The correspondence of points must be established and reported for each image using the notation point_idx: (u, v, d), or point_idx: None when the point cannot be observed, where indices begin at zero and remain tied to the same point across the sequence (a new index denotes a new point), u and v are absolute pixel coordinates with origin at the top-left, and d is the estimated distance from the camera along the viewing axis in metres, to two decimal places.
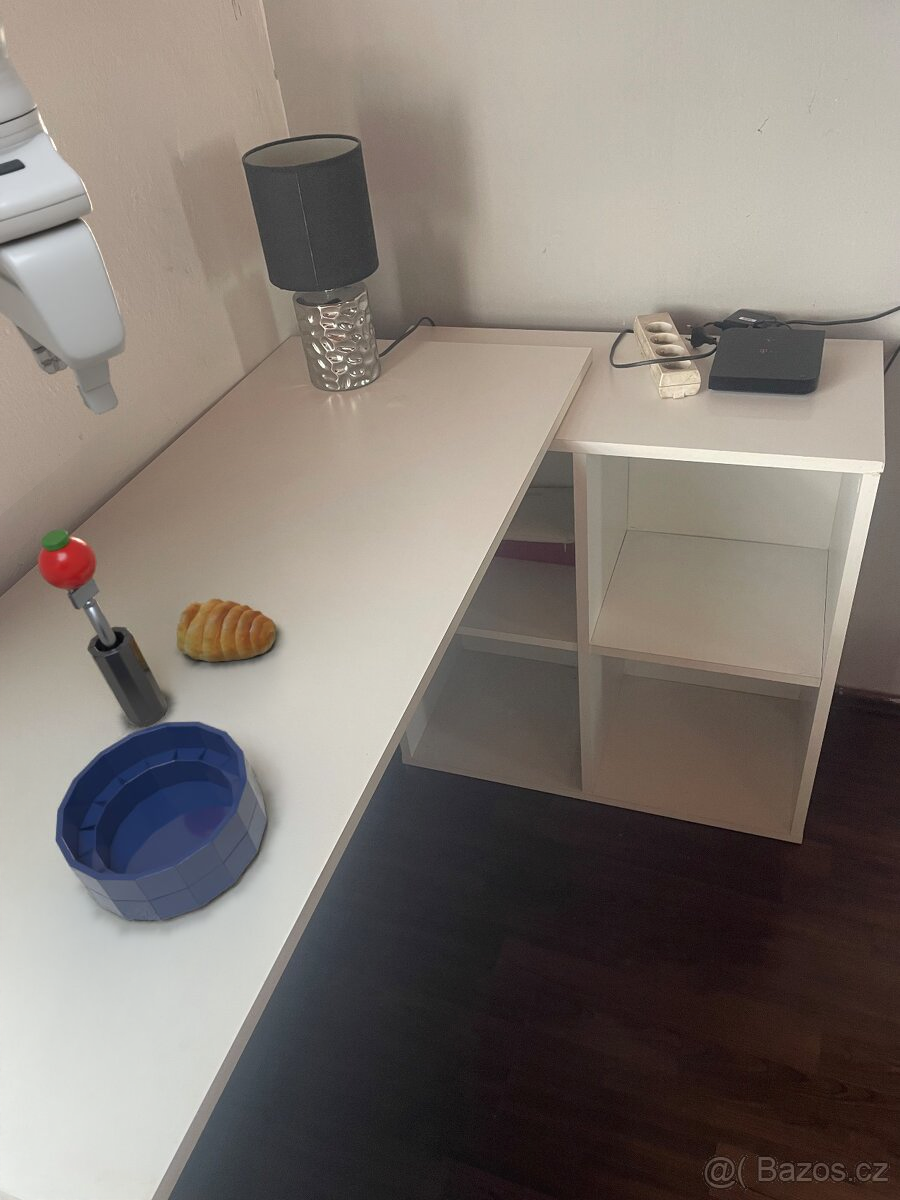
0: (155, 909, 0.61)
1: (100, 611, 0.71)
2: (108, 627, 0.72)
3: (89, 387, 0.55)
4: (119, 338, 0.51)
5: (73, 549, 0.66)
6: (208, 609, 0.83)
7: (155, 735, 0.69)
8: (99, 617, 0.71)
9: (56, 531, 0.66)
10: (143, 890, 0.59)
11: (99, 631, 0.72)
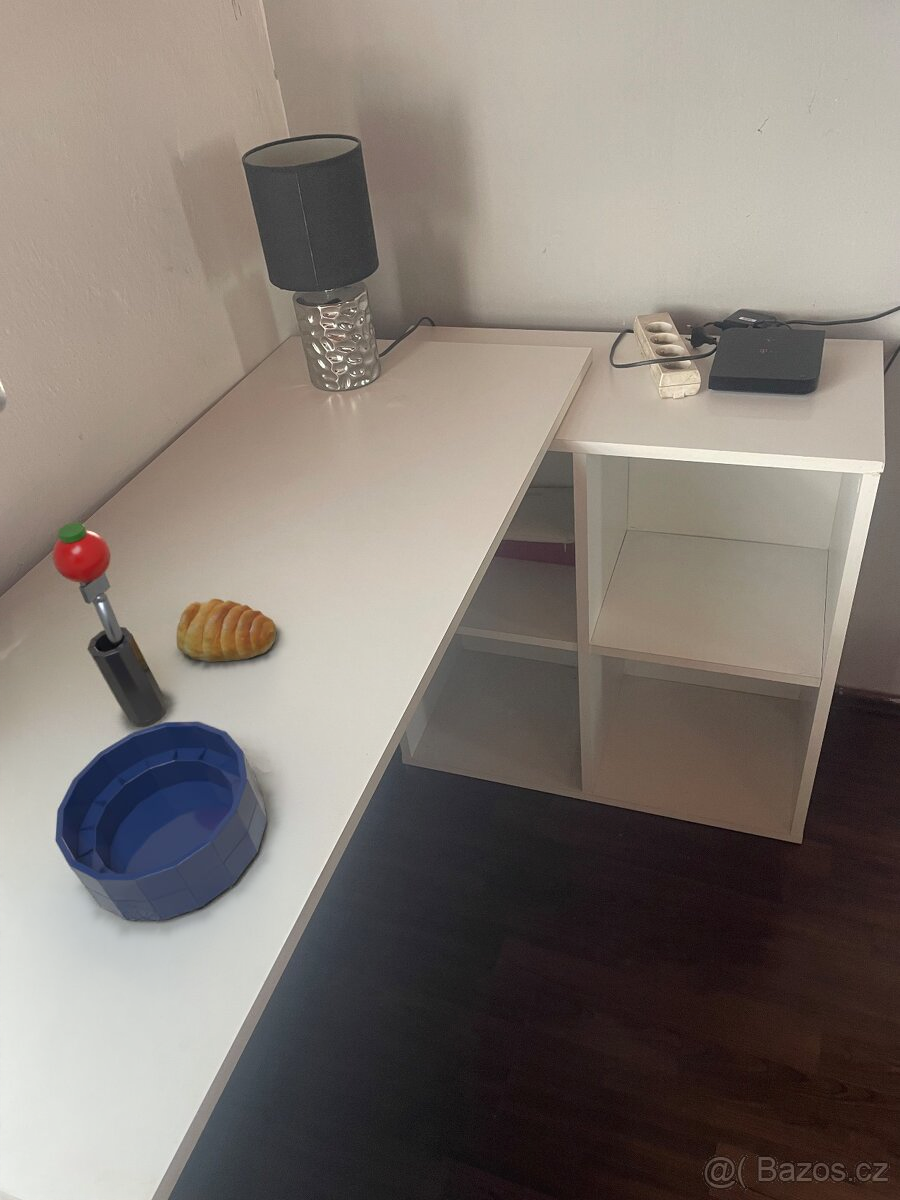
0: (155, 909, 0.61)
1: (109, 607, 0.71)
2: (116, 623, 0.72)
3: None
4: None
5: (89, 542, 0.67)
6: (208, 609, 0.83)
7: (155, 735, 0.69)
8: (108, 613, 0.71)
9: (73, 524, 0.67)
10: (143, 890, 0.59)
11: (107, 627, 0.72)
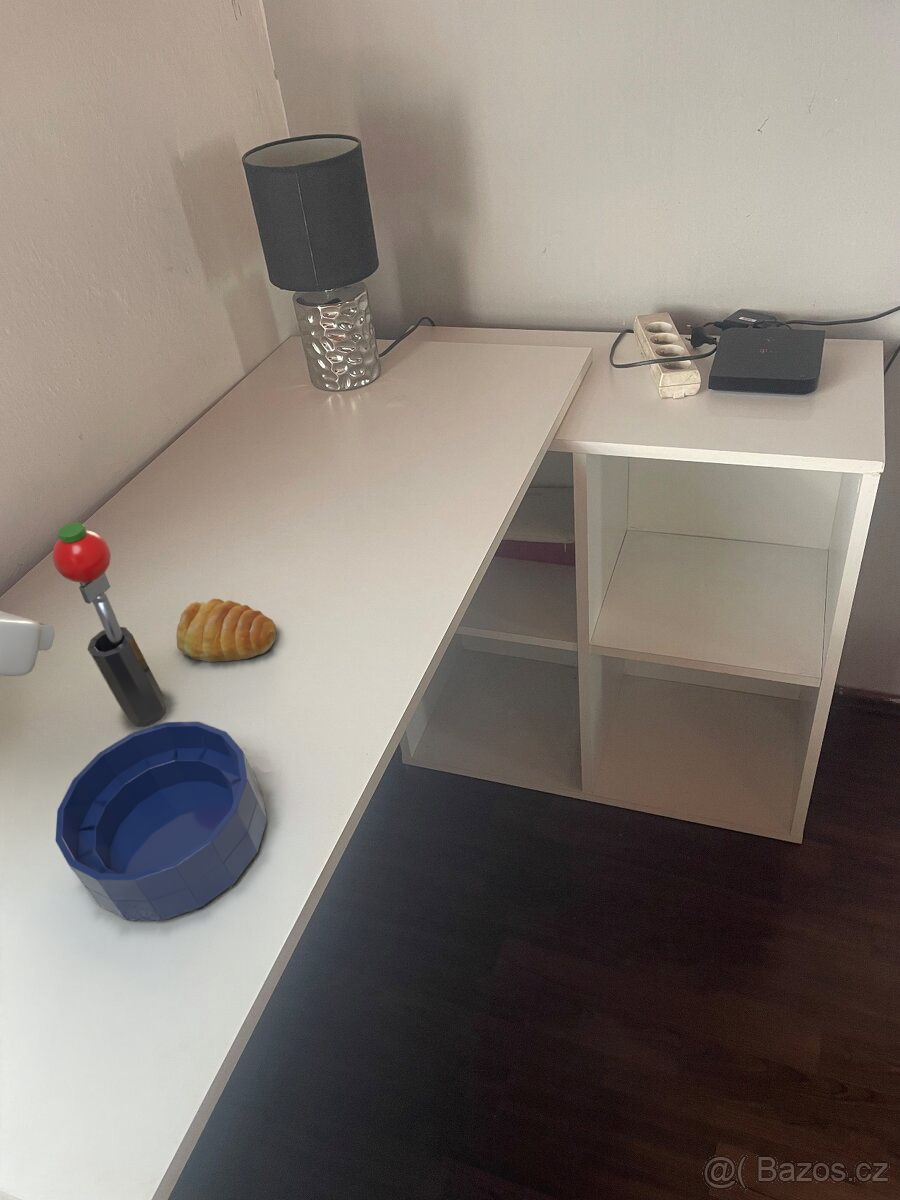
0: (155, 909, 0.61)
1: (109, 607, 0.71)
2: (116, 623, 0.72)
3: None
4: None
5: (89, 542, 0.67)
6: (208, 609, 0.83)
7: (155, 735, 0.69)
8: (108, 613, 0.71)
9: (73, 524, 0.67)
10: (143, 890, 0.59)
11: (107, 627, 0.72)
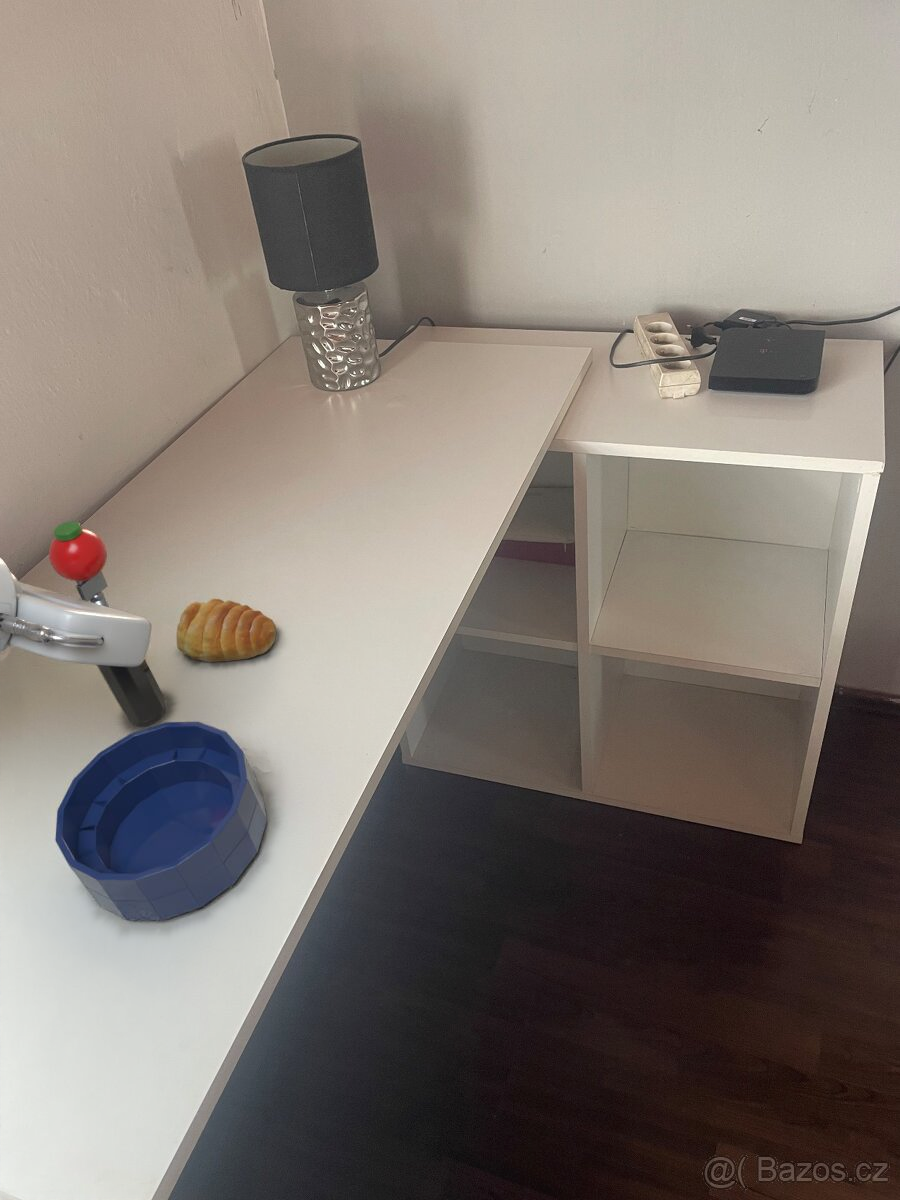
0: (155, 909, 0.61)
1: (107, 605, 0.71)
2: None
3: None
4: None
5: (85, 540, 0.67)
6: (208, 609, 0.83)
7: (155, 735, 0.69)
8: None
9: (69, 522, 0.67)
10: (143, 890, 0.59)
11: None
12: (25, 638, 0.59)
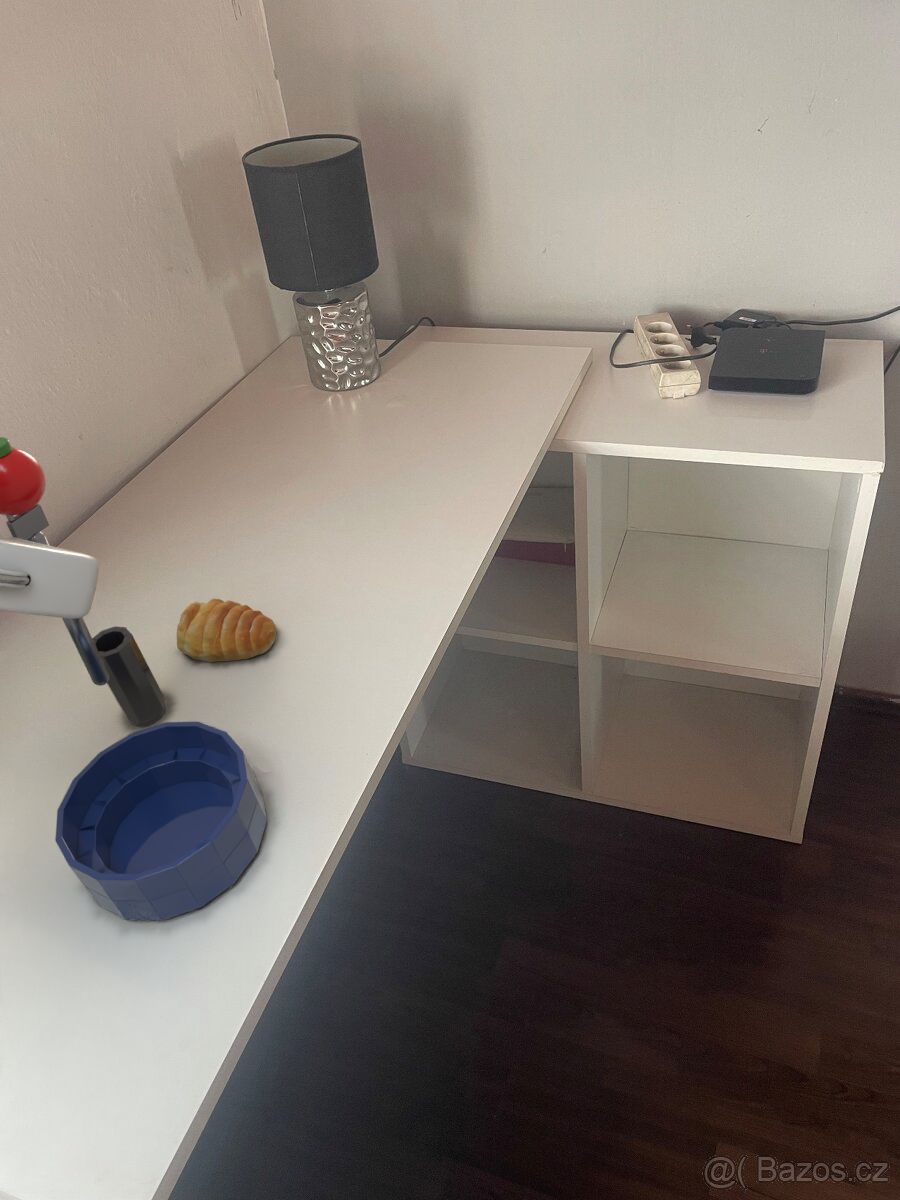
0: (155, 909, 0.61)
1: None
2: None
3: None
4: None
5: (15, 460, 0.52)
6: (208, 609, 0.83)
7: (155, 735, 0.69)
8: None
9: None
10: (143, 890, 0.59)
11: None
12: None
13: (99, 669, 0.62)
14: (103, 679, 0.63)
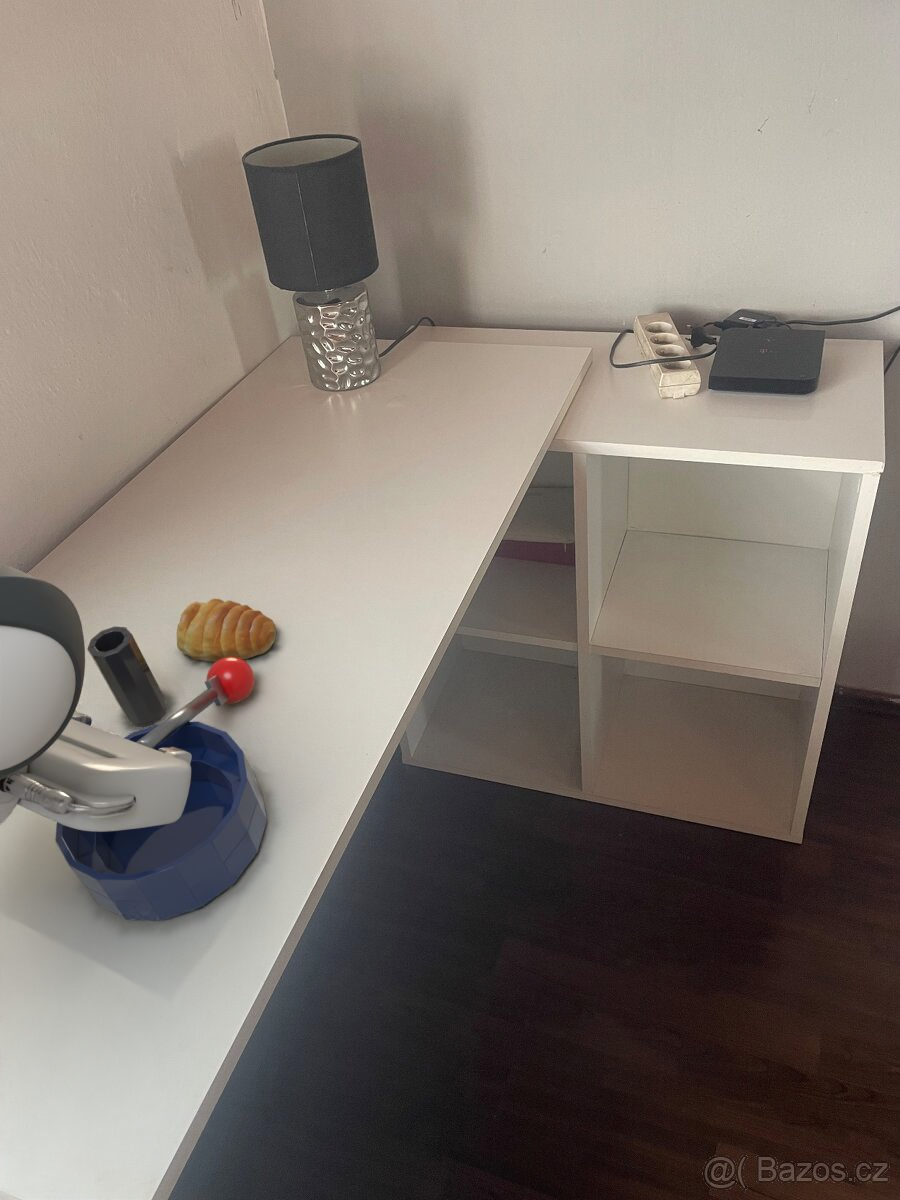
0: (155, 909, 0.61)
1: (213, 698, 0.72)
2: (204, 704, 0.71)
3: None
4: None
5: None
6: (208, 609, 0.83)
7: None
8: (209, 696, 0.72)
9: None
10: (143, 890, 0.59)
11: (197, 698, 0.71)
12: None
13: (154, 738, 0.63)
14: (147, 743, 0.62)
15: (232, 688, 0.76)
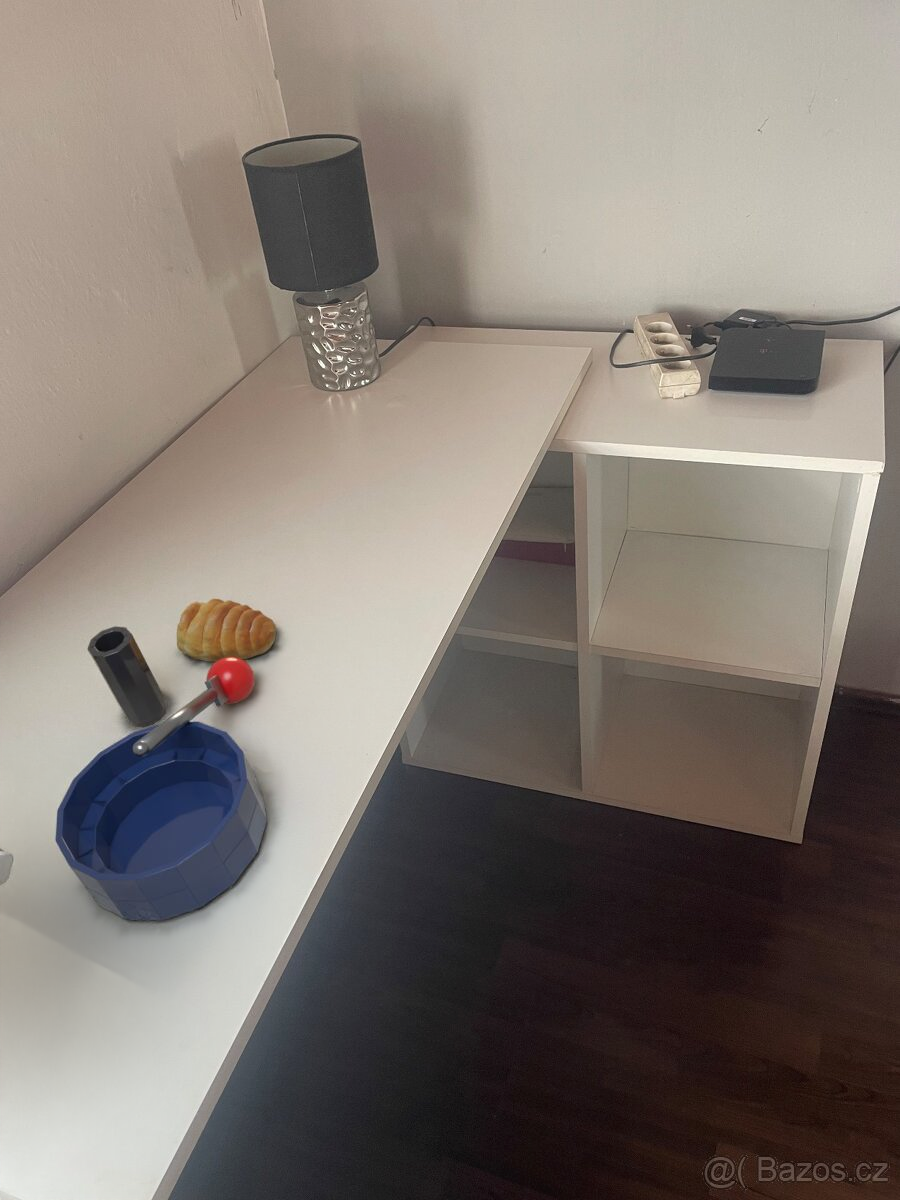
0: (155, 909, 0.61)
1: (213, 698, 0.72)
2: (204, 704, 0.71)
3: None
4: None
5: None
6: (208, 609, 0.83)
7: None
8: (209, 696, 0.72)
9: None
10: (143, 890, 0.59)
11: (197, 698, 0.71)
12: None
13: (154, 738, 0.63)
14: (147, 743, 0.62)
15: (232, 688, 0.76)
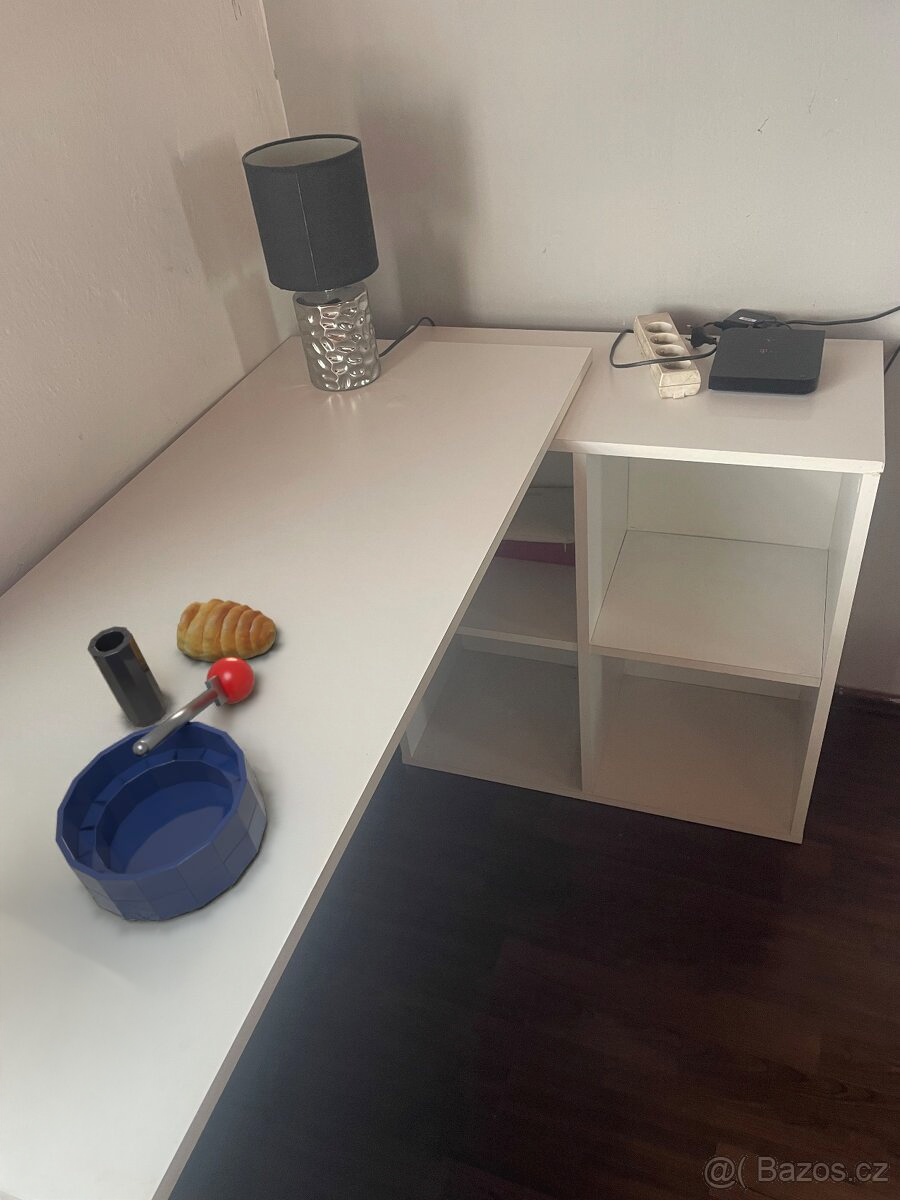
0: (155, 909, 0.61)
1: (213, 698, 0.72)
2: (204, 704, 0.71)
3: None
4: None
5: None
6: (208, 609, 0.83)
7: None
8: (209, 696, 0.72)
9: None
10: (143, 890, 0.59)
11: (197, 698, 0.71)
12: None
13: (154, 738, 0.63)
14: (147, 743, 0.62)
15: (232, 688, 0.76)
